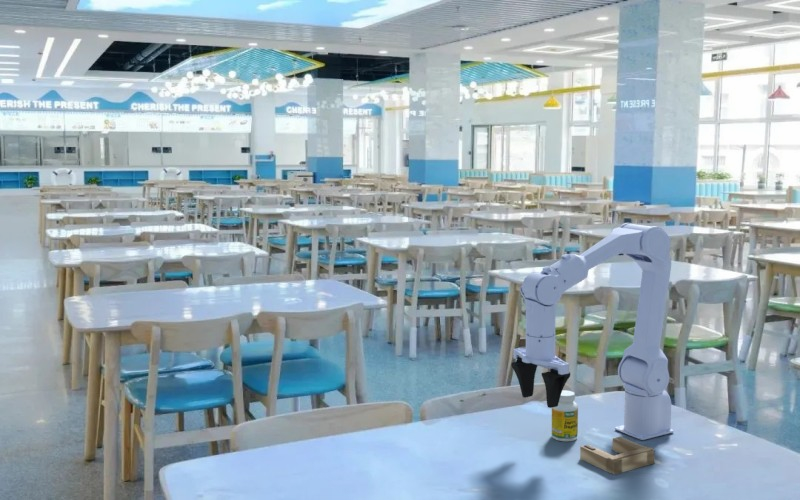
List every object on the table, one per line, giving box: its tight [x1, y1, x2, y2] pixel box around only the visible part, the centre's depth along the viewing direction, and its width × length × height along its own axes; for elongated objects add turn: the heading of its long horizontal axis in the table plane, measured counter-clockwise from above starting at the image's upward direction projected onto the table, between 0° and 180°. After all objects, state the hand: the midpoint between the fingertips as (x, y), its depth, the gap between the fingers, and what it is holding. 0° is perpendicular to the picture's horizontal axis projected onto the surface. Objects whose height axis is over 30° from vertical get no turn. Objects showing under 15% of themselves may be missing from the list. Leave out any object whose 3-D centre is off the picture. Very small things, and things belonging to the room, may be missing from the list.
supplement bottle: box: [551, 389, 579, 443], centre depth 170 cm, size 5×5×10 cm
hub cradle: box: [579, 436, 656, 475], centre depth 158 cm, size 10×9×3 cm
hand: (539, 401), depth 163 cm, fingers open, 7 cm apart
